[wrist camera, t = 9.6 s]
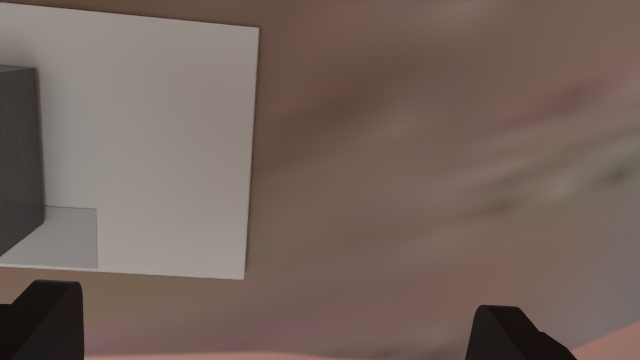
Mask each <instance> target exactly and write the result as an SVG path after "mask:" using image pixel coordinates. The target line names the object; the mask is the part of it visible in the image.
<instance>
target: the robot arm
mask: <svg viewBox="0 0 640 360" xmlns="http://www.w3.org/2000/svg"><path fill="white" fill-rule="evenodd" d="M0 360H84V324H83V295H82V288H81V285H80V283H79V282H75V281H57V280H39V279H38V280H35V281H34V282H32V283H31V284H30V285H29V286H28V287H27V288H26V290H25V291H24V292H23V293H22V294H21V295H20V296H19V297H18V298H17V299H16V300H15V301H14V302H13V303H12V304H0ZM465 360H577V359H576V358H575V357H574V356H573V355H572V353H571V352H570V351H569V350H568V349H567V348H566V347H565V346H563V345H562V344H560V343H559V342H557V341H556V340H554V339H553V338H551V337H550V336H548V335H547V334H546V333H544V332H539V330H538V329H537V328H536V327H535V326H534V324H533V323H532V322H531V321H530V320H529V319H528V317H527V316H526V315H525V314H524V313H523V311H522V310H521V309H520V308H518V307H513V306H495V305H481V306H479V307H478V309H477V310H476V313H475V316H474V321H473V325H472V330H471V335H470V339H469V344H468V349H467V353H466V358H465Z"/></svg>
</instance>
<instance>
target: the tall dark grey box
mask: <svg viewBox="0 0 640 360" xmlns="http://www.w3.org/2000/svg"><path fill="white" fill-rule="evenodd" d="M43 223H44V217H43V199H42V180H41V162H40V144H39V125H38V107H37V88H36V70H35V68H34V67H22V66H11V65H0V257H1V256H2V255H4V254H5V253H6V252H7V251H9V250H10V249H11V248H13V247H14V246H15V245H16V244H18V243H19V242H20V241H22V240H23V239H24V238H25V237H27V236H28V235H29V234H31V233H32V232H33V231H34V230H36V229H37V228H38V227H40V226H41V225H42V224H43Z"/></svg>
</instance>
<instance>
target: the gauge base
mask: <svg viewBox="0 0 640 360" xmlns="http://www.w3.org/2000/svg"><path fill="white" fill-rule="evenodd" d="M259 35H260V28H255V27H245V26H235V25H225V24H215V23H204V22H194V21H184V20H174V19H164V18H154V17H144V16H134V15H124V14H113V13H103V12H93V11H83V10H73V9H63V8H53V7H43V6H33V5H22V4H12V3H2V2H0V65H11V66H22V67H34V68H35V70H36V88H37V107H38V125H39V144H40V162H41V180H42V199H43V217H44V223H43V224H42V225H41V226H40V227H38V228H37V229H36V230H34V231H33V232H32V233H31V234H29V235H28V236H27V237H25V238H24V239H23V240H22V241H20V242H19V243H18V244H16V245H15V246H14V247H13V248H11V249H10V250H9V251H7V252H6V253H5V254H4V255H2V256H1V257H0V266H4V267H22V268H41V269H59V270H77V271H95V272H114V273H132V274H150V275H168V276H187V277H205V278H223V279H241V280H244V275H245V267H246V251H247V234H248V217H249V201H250V184H251V168H252V151H253V134H254V118H255V101H256V84H257V68H258V51H259Z"/></svg>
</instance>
